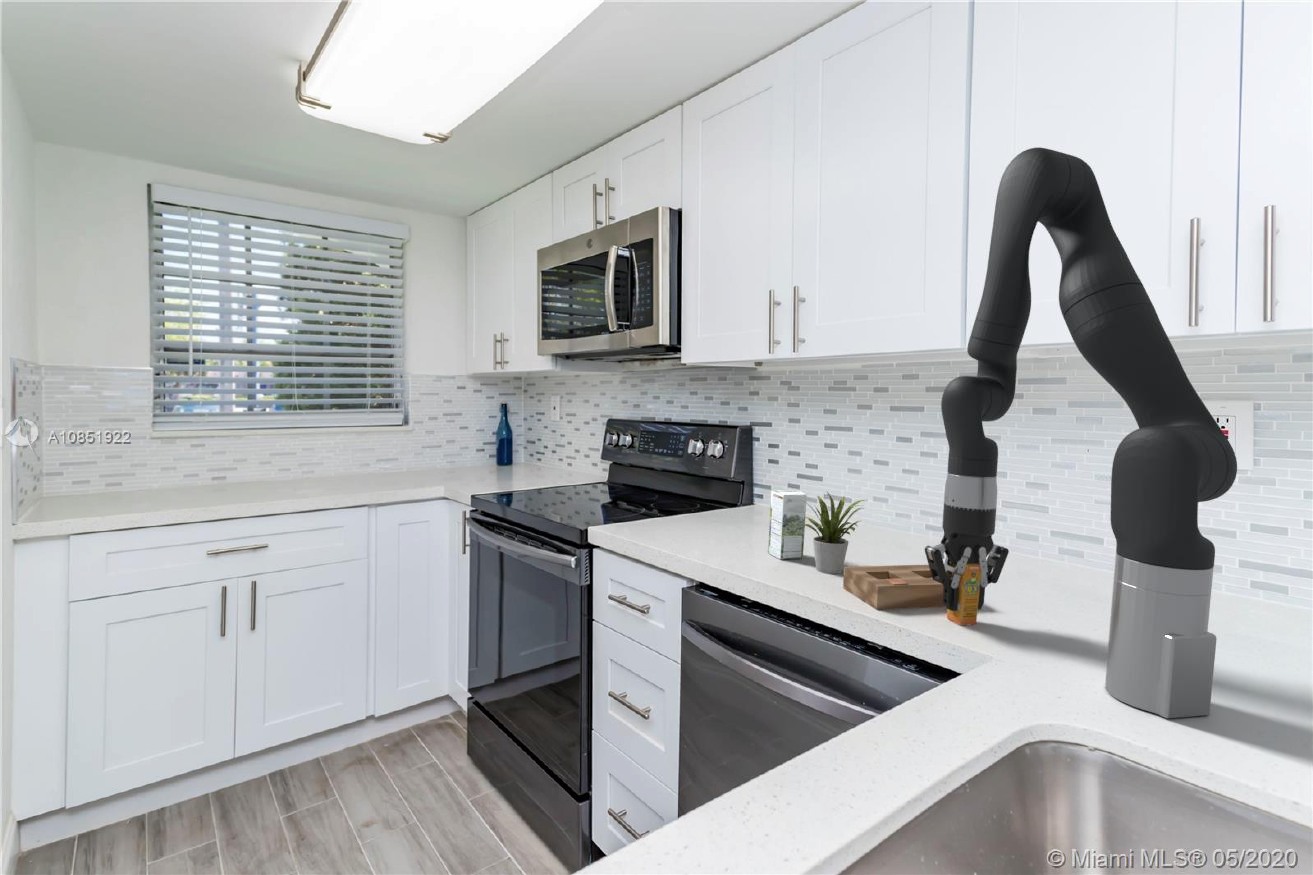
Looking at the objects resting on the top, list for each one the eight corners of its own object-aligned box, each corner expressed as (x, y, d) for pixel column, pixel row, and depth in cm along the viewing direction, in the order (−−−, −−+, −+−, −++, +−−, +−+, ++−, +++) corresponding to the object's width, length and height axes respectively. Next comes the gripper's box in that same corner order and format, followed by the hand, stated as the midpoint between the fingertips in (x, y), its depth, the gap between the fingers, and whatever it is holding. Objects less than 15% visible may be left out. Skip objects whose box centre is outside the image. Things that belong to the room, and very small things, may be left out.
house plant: (886, 573, 131) (890, 493, 129) (845, 585, 122) (849, 499, 121) (827, 558, 142) (831, 484, 141) (786, 567, 133) (789, 489, 132)
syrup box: (790, 552, 146) (793, 488, 145) (804, 559, 141) (807, 493, 140) (767, 553, 144) (770, 489, 143) (780, 560, 139) (783, 493, 138)
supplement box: (961, 626, 102) (965, 564, 101) (945, 619, 105) (949, 558, 104) (978, 625, 103) (982, 563, 102) (963, 617, 106) (966, 557, 105)
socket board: (971, 605, 112) (973, 582, 112) (876, 609, 109) (878, 585, 108) (930, 585, 124) (931, 563, 123) (843, 587, 120) (844, 565, 120)
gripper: (944, 507, 97) (937, 619, 99) (1026, 507, 100) (1018, 615, 101) (915, 499, 105) (909, 602, 106) (992, 498, 107) (986, 600, 109)
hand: (963, 608), depth 104 cm, fingers open, 3 cm apart
